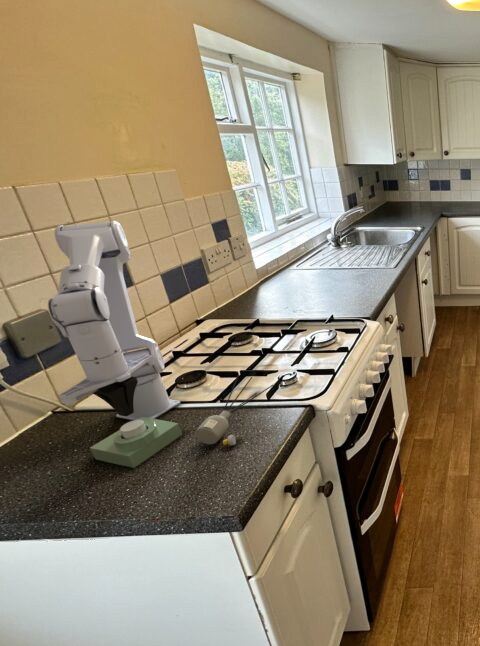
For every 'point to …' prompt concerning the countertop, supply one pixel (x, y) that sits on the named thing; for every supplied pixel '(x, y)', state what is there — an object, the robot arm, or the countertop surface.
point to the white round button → (133, 429)
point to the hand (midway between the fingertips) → (126, 413)
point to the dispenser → (137, 443)
